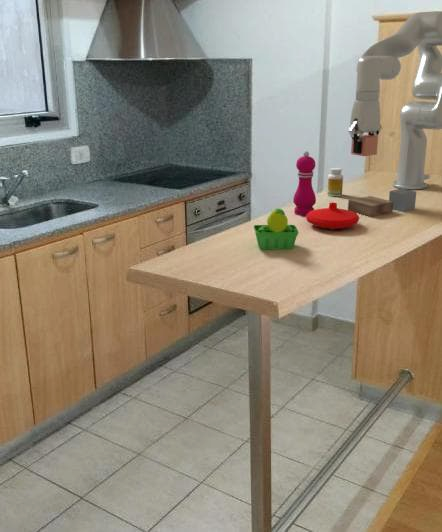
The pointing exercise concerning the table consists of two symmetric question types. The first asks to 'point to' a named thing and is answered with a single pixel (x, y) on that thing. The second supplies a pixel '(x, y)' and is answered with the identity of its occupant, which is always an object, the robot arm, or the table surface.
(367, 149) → the salmon pink cube
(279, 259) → the table surface
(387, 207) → the walnut block
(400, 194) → the grey cube
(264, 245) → the fruit basket
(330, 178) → the supplement bottle
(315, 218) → the flat cone with hole
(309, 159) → the pepper mill
